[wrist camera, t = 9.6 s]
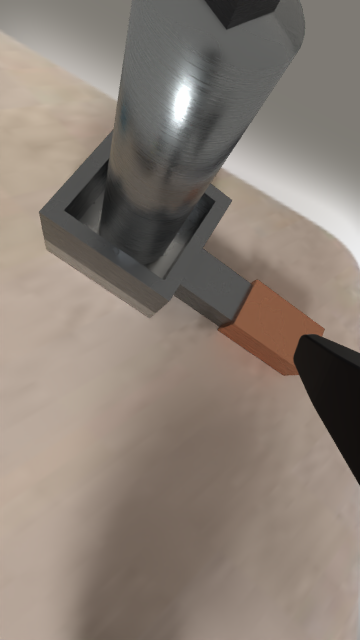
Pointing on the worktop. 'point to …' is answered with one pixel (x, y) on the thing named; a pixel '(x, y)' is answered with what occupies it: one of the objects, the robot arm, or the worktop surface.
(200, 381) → the worktop surface
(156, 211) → the cylinder with cube top
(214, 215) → the saucepan
